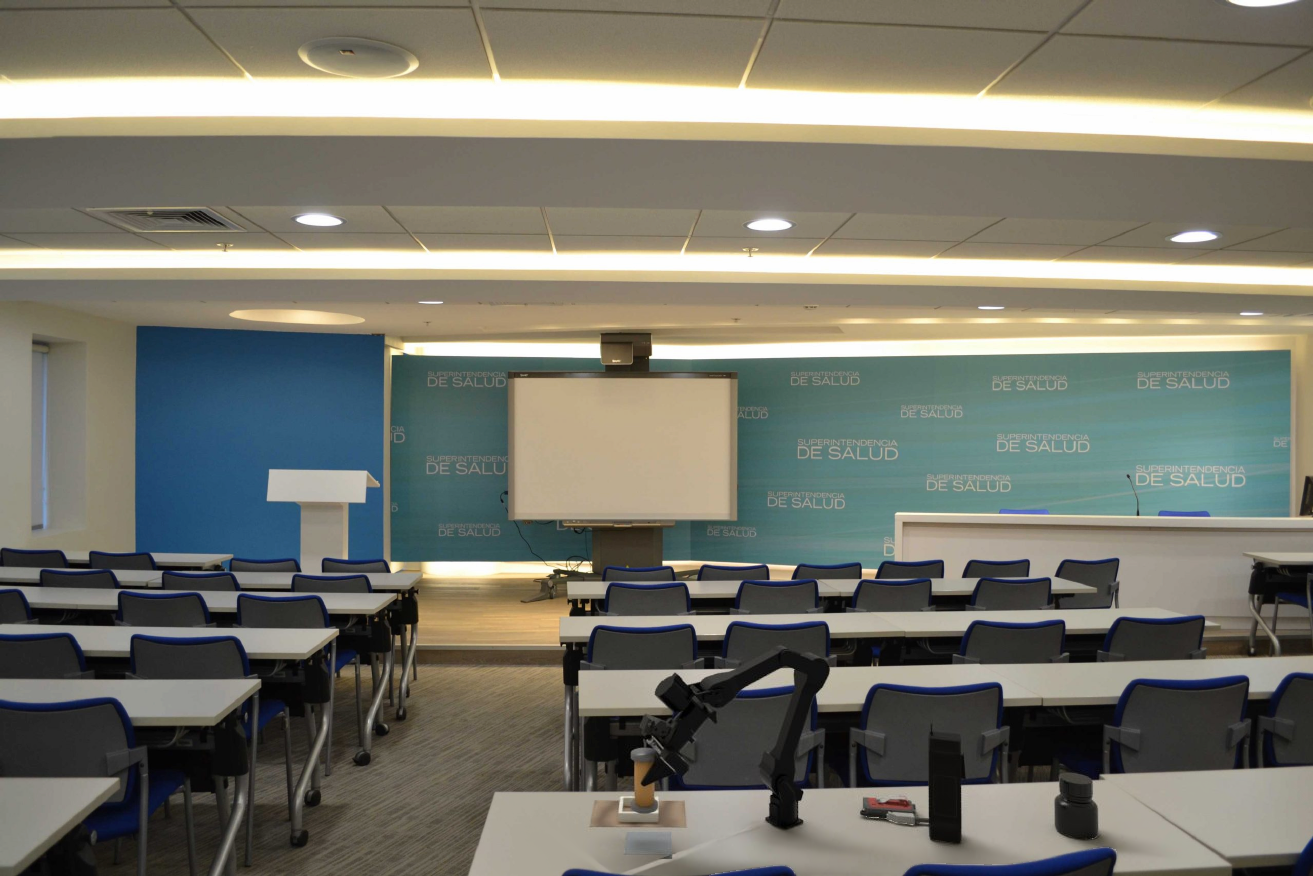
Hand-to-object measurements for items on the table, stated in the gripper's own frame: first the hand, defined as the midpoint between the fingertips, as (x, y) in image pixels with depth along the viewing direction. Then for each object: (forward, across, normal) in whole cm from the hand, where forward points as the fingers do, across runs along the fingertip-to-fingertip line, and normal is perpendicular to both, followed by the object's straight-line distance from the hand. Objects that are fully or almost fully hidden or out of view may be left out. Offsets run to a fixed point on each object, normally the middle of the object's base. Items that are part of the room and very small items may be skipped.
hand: (638, 780), depth 176 cm
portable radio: (-38, +17, +57) cm, 71 cm away
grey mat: (+8, +3, +10) cm, 14 cm away
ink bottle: (-58, +24, +78) cm, 101 cm away
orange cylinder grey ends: (+3, 0, +5) cm, 6 cm away
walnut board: (+7, -12, +12) cm, 18 cm away
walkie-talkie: (-35, +6, +55) cm, 65 cm away
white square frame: (+7, -12, +12) cm, 18 cm away
